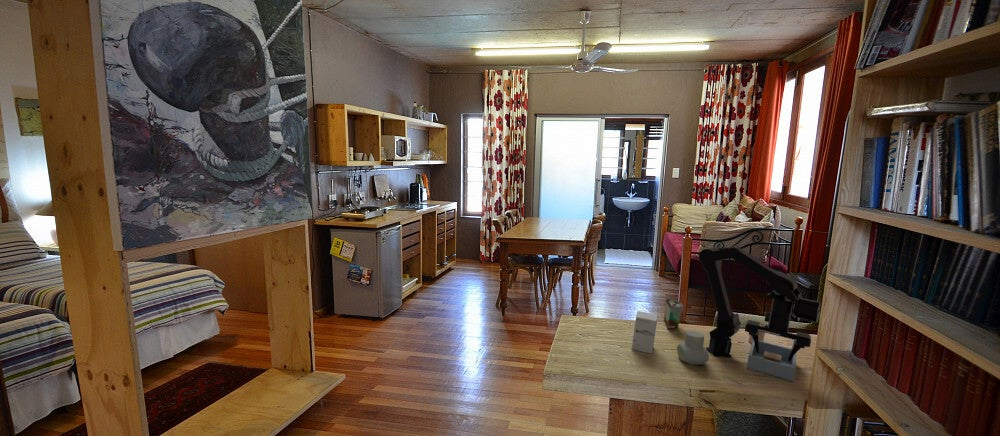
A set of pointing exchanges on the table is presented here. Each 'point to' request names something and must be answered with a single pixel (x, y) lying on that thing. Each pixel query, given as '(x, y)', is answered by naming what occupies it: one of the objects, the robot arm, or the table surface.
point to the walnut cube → (772, 357)
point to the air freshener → (693, 349)
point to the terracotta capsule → (761, 337)
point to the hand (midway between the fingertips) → (772, 356)
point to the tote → (772, 368)
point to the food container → (672, 313)
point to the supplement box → (644, 332)
